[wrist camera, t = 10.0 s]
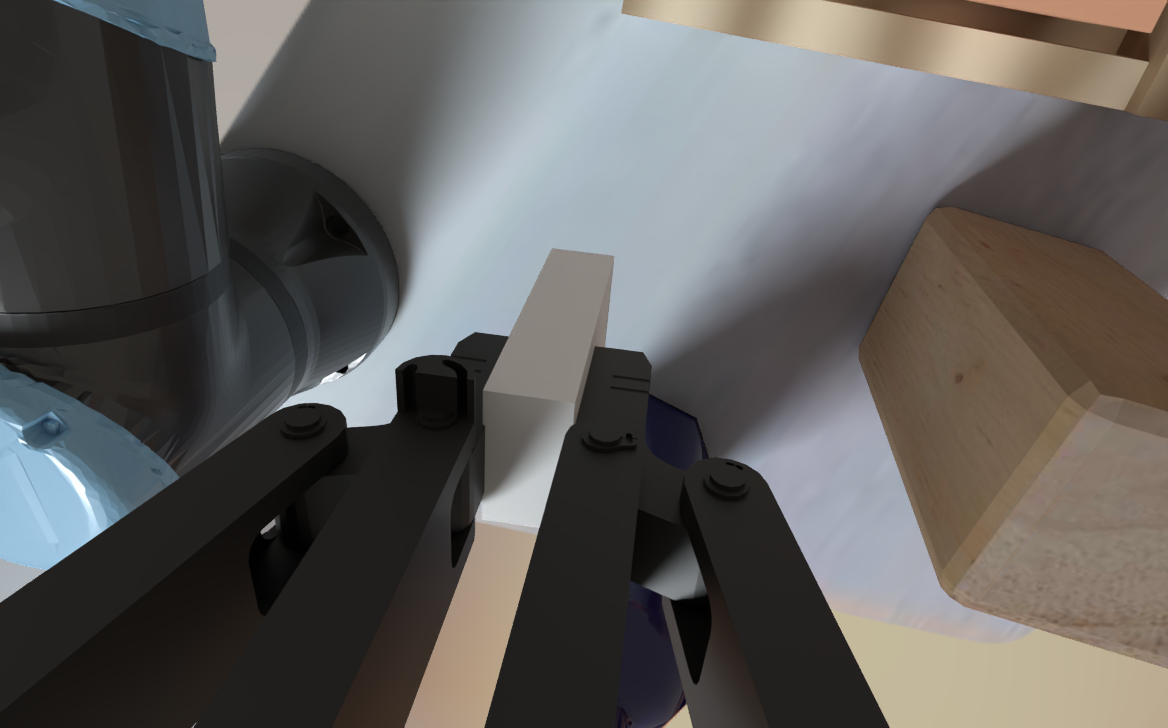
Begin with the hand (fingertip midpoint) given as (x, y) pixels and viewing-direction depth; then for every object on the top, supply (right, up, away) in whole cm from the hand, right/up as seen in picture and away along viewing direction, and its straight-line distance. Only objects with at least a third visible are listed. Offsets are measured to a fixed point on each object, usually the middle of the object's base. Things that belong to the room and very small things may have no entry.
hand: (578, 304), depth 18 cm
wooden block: (+22, +2, +23) cm, 32 cm away
